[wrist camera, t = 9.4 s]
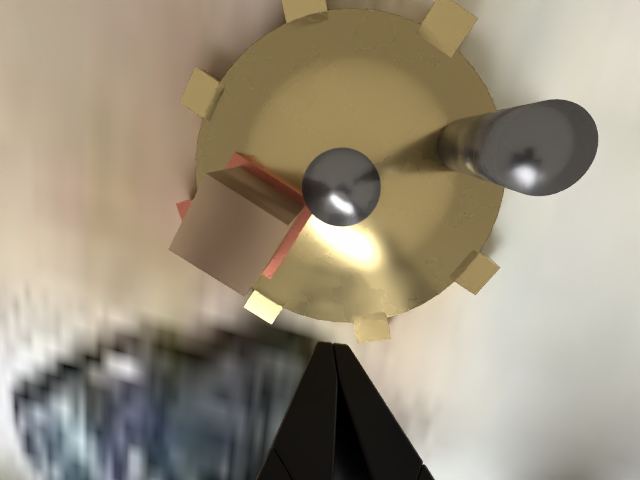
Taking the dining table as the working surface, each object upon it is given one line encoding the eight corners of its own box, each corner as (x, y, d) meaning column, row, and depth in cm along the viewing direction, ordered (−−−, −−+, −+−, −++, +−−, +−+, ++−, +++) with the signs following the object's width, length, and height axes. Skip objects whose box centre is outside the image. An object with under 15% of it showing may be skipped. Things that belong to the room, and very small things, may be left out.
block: (304, 207, 20) (288, 225, 16) (268, 265, 21) (244, 296, 17) (239, 165, 20) (206, 173, 15) (207, 227, 21) (168, 249, 17)
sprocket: (612, 126, 18) (872, 112, 9) (384, 382, 24) (397, 530, 15) (283, -106, 17) (187, -400, 8) (135, 228, 23) (-14, 286, 14)
